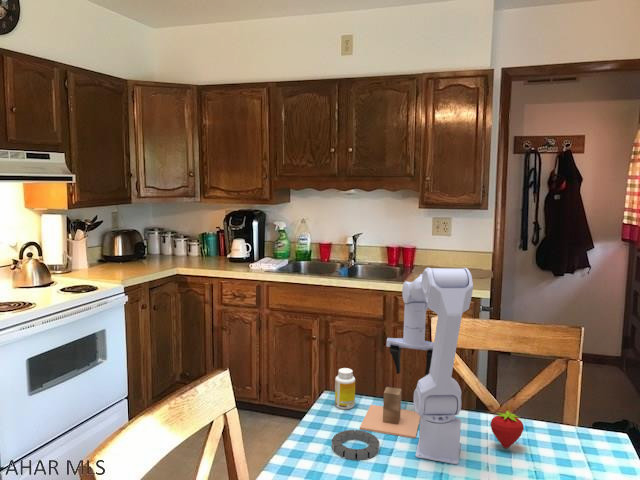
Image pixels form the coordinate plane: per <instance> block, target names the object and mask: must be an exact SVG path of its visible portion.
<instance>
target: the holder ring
mask: <svg viewBox="0 0 640 480" xmlns="http://www.w3.org/2000/svg"><path fill="white" fill-rule="evenodd" d="M354 440H355V441H360V442H364V443H366V444H368V446H366V447H365V448H358V449H357V448H350V447H349V448H348V447H347V446H345V445H344V444H343V443H345V442H347V441H354ZM380 444H381V443H380V440H379V439H378V438H377V436H376V435H374V434H372V433H370V432H369V431H367V430H361V429H359V430H358V429H347V430H342V431H340V432H338V433H335V434H334V435H333V437H332V439H331V449H332V450H333V453H335V454H336V455H337V456H338V457H340V458H343V459H345V460H350V461H351V460H352V461H364V460H365V461H366V460H368V459H372V458H374V457H375V456H377V454H379V451H380V447H381V445H380Z"/></svg>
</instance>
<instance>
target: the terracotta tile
mask: <svg viewBox="0 0 640 480" xmlns="http://www.w3.org/2000/svg"><path fill="white" fill-rule="evenodd" d="M369 405H370V406H369V407H368V410H367V411H366V414H365V415H364V418H363V419H362V422H361V424H360V426H359V430H360V431H366V432H374V433H380V434H386V435H393V436H397V437H404V438H410V439H416V438H417V435H418V429H419V427H420V416H419V415H418V414H417V413H416V411H415V410H409V409H404V408H403V409H402V408H401V412H400V420H399V424H398V425H397V424H390V423H384V422H383V406H382V405H376V404H369Z"/></svg>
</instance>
